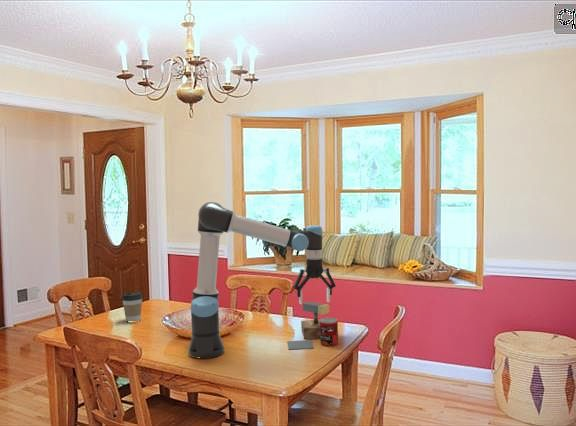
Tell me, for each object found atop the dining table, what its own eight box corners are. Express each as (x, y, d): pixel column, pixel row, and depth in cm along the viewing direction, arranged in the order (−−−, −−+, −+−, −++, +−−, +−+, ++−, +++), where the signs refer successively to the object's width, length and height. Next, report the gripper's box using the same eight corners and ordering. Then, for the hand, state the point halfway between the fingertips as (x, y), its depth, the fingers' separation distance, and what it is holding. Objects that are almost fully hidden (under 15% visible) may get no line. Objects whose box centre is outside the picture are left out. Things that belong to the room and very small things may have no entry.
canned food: (316, 344, 224) (316, 320, 223) (328, 340, 230) (327, 316, 229) (330, 348, 219) (329, 323, 218) (341, 343, 225) (341, 319, 224)
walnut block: (304, 339, 232) (303, 327, 232) (301, 330, 245) (301, 320, 245) (331, 337, 233) (331, 326, 233) (328, 329, 246) (327, 318, 246)
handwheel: (303, 321, 241) (302, 303, 241) (310, 319, 245) (309, 301, 244) (322, 326, 233) (321, 307, 232) (329, 323, 236) (329, 304, 236)
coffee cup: (128, 318, 279) (126, 291, 278) (147, 318, 277) (146, 291, 276) (118, 323, 267) (117, 296, 267) (138, 324, 266) (137, 296, 265)
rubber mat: (288, 349, 218) (288, 349, 218) (287, 341, 229) (287, 341, 229) (313, 348, 219) (313, 347, 218) (311, 340, 229) (311, 339, 229)
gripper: (290, 260, 230) (290, 306, 232) (342, 258, 236) (342, 303, 237) (286, 258, 238) (287, 302, 239) (336, 256, 243) (337, 299, 245)
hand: (314, 303), depth 238 cm, fingers open, 13 cm apart
